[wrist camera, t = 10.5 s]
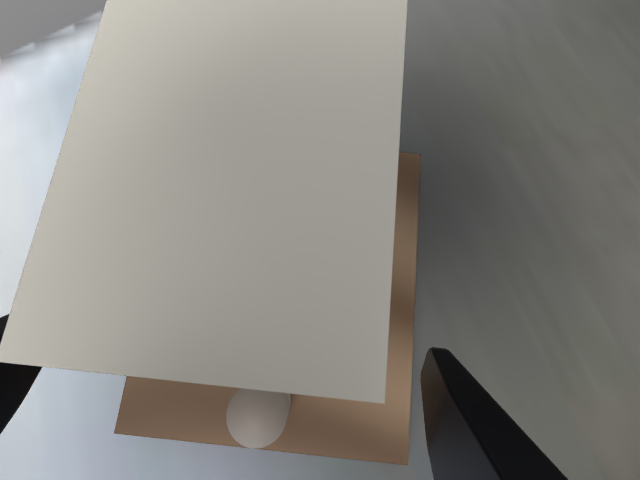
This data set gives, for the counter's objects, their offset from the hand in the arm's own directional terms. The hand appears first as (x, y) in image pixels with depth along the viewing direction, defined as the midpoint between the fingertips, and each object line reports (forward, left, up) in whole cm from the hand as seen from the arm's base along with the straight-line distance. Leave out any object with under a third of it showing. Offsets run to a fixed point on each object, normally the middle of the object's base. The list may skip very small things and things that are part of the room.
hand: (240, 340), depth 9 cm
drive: (+2, +2, -8) cm, 8 cm away
